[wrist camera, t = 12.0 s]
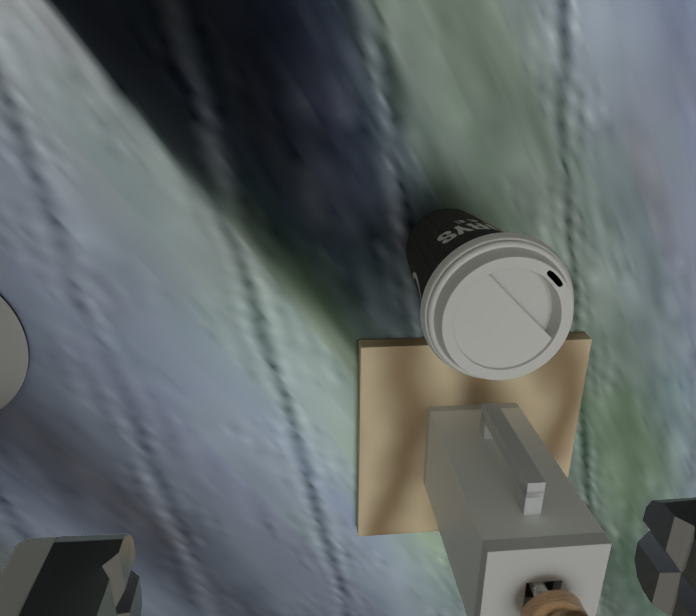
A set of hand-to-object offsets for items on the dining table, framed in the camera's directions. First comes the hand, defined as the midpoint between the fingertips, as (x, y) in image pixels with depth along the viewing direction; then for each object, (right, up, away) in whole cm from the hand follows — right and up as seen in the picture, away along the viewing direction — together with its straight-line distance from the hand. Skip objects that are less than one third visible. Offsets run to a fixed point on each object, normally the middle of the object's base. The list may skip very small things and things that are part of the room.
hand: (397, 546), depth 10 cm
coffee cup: (+7, +9, +40) cm, 41 cm away
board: (+10, -8, +47) cm, 48 cm away
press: (+10, -7, +45) cm, 47 cm away
